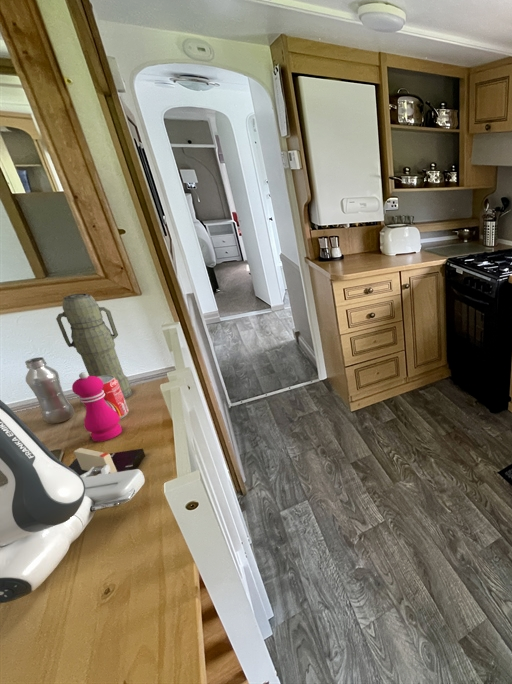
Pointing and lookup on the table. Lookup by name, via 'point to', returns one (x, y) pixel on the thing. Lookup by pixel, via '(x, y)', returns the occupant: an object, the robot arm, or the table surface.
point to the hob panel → (117, 461)
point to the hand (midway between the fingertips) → (102, 467)
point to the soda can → (114, 395)
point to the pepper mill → (96, 408)
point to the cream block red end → (93, 459)
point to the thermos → (93, 338)
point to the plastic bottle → (48, 391)
